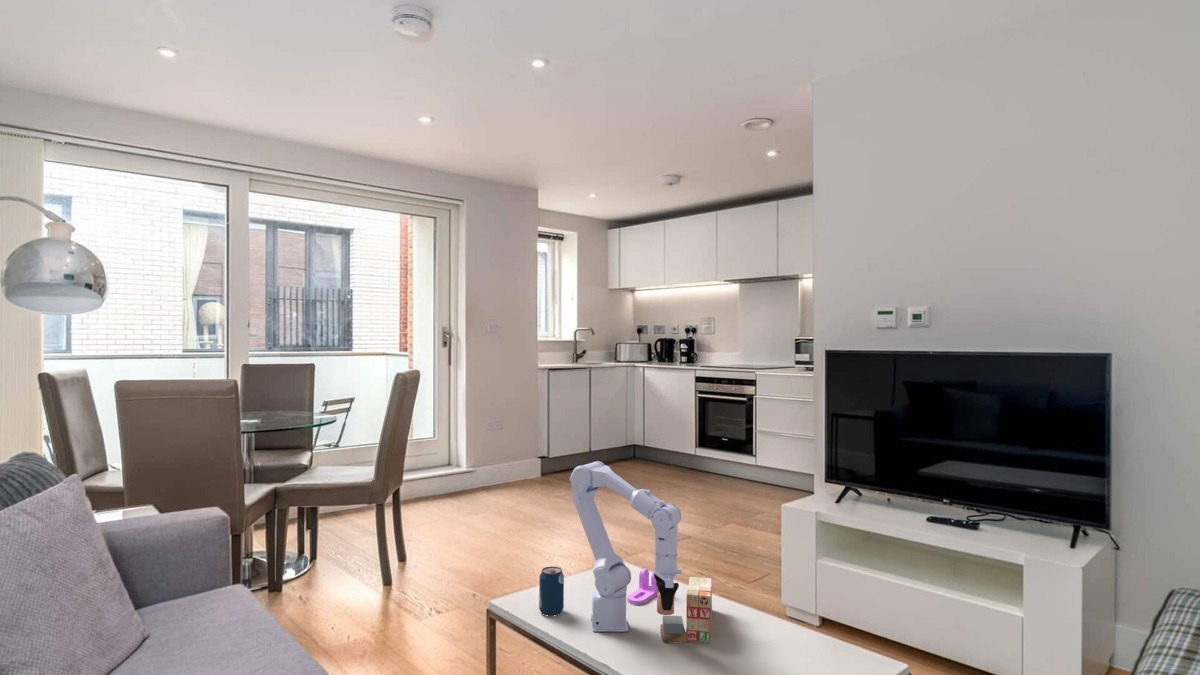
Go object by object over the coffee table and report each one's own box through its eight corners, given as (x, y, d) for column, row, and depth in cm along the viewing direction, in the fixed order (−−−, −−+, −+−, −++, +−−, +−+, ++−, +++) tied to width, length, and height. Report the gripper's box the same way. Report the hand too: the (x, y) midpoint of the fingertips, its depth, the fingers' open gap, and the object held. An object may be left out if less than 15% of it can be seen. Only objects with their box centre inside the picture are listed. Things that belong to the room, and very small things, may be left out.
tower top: (663, 633, 165) (664, 623, 165) (662, 625, 170) (662, 615, 170) (683, 633, 165) (683, 624, 165) (681, 625, 170) (681, 616, 170)
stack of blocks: (690, 608, 186) (690, 565, 187) (712, 610, 185) (712, 567, 185) (685, 641, 165) (686, 593, 166) (710, 643, 164) (711, 595, 164)
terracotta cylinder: (658, 615, 163) (658, 597, 163) (655, 608, 168) (656, 590, 168) (675, 615, 163) (675, 597, 163) (672, 608, 168) (672, 590, 168)
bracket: (644, 589, 201) (645, 566, 201) (660, 592, 198) (660, 570, 198) (623, 602, 190) (623, 579, 190) (640, 607, 187) (640, 583, 187)
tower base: (663, 644, 164) (663, 634, 164) (660, 633, 170) (660, 624, 170) (686, 644, 164) (686, 634, 164) (682, 633, 170) (683, 624, 170)
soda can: (568, 611, 183) (569, 569, 183) (551, 619, 177) (551, 575, 178) (551, 605, 187) (551, 564, 187) (533, 612, 182) (534, 570, 182)
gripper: (685, 562, 159) (685, 617, 158) (677, 544, 173) (677, 595, 173) (657, 562, 158) (656, 617, 158) (651, 544, 173) (651, 594, 173)
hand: (665, 605), depth 166 cm, fingers closed on terracotta cylinder, 4 cm apart
